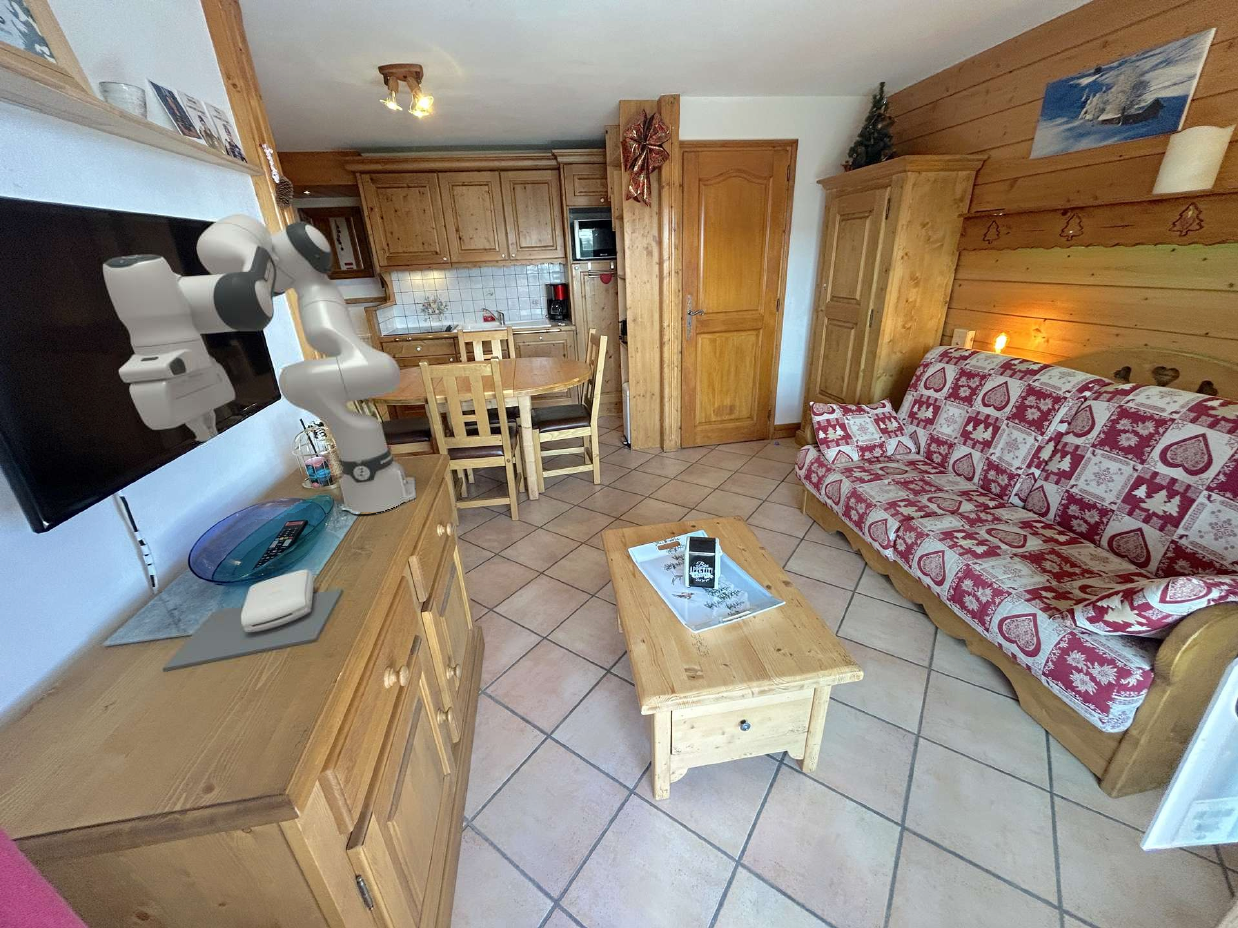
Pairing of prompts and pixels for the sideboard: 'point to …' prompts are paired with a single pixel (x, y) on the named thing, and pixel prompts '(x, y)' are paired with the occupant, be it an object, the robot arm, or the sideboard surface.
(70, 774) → the sideboard surface
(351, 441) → the robot arm
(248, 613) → the photo printer
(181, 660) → the mat
